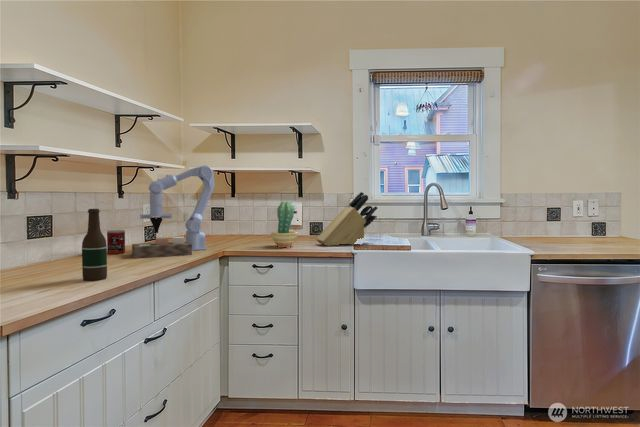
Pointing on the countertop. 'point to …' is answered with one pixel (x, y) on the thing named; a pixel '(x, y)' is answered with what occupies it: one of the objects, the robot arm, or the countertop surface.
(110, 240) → the canned food
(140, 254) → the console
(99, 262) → the beer bottle
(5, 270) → the countertop surface
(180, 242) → the key cream
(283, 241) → the potted cactus
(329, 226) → the knife block
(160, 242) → the key terracotta
